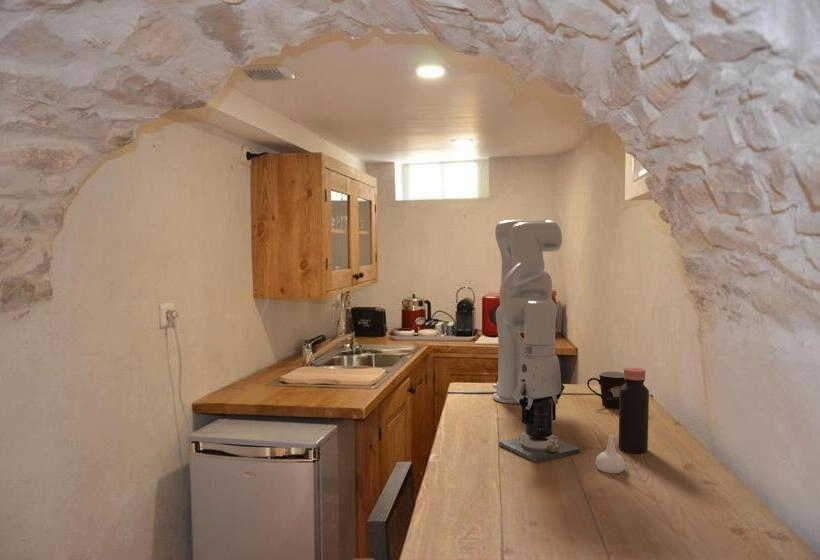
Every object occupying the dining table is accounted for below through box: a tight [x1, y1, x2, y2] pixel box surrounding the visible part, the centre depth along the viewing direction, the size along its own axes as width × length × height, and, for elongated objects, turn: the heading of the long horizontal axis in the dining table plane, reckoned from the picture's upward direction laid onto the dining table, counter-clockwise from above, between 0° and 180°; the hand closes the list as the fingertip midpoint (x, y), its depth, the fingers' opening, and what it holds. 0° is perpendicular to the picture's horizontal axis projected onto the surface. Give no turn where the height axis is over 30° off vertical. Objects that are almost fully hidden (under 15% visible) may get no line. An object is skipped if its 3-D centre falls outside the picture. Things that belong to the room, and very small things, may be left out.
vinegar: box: [618, 367, 650, 454], centre depth 147 cm, size 7×7×20 cm
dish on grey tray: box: [498, 431, 581, 464], centre depth 148 cm, size 14×14×3 cm
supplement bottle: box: [524, 397, 554, 438], centre depth 148 cm, size 7×7×12 cm
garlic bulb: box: [595, 434, 626, 474], centre depth 135 cm, size 6×6×8 cm
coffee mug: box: [586, 371, 625, 410], centre depth 187 cm, size 12×9×10 cm
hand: (538, 420), depth 148 cm, fingers closed on supplement bottle, 6 cm apart
